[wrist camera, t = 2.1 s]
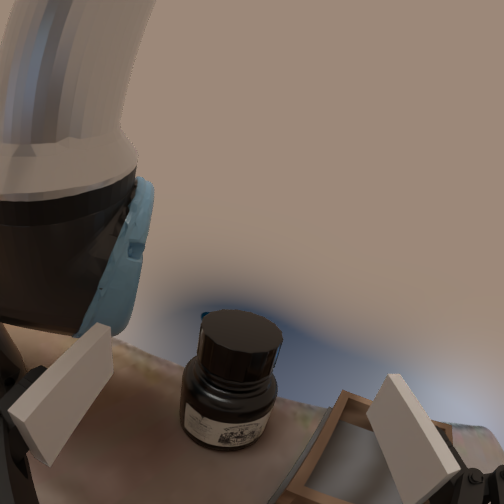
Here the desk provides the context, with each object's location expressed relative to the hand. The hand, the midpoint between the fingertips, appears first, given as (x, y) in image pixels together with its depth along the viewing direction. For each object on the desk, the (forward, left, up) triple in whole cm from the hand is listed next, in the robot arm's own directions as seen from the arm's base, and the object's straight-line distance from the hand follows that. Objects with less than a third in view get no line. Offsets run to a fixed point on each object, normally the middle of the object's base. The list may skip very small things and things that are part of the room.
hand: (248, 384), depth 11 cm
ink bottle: (-5, +9, -15) cm, 18 cm away
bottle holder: (+12, +10, -15) cm, 21 cm away
